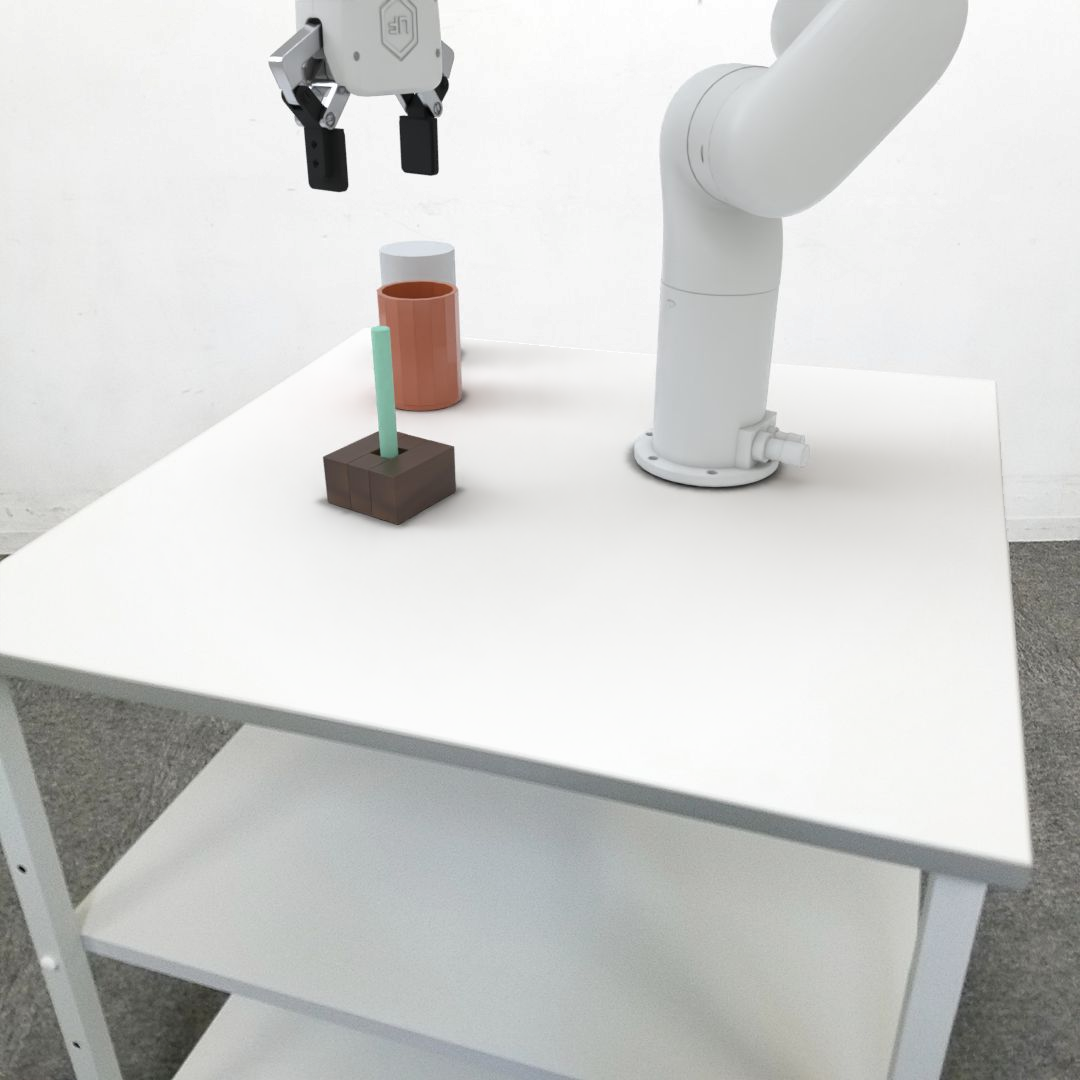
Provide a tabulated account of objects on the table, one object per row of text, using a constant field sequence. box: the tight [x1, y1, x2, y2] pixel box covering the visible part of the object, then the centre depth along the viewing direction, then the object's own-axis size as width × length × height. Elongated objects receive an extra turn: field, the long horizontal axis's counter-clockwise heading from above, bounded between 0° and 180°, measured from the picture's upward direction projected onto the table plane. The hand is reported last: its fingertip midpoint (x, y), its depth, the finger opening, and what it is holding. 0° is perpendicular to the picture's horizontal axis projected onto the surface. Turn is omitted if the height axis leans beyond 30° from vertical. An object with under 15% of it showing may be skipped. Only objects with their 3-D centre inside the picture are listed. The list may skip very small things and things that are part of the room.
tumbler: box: [376, 280, 463, 412], centre depth 103 cm, size 8×8×11 cm
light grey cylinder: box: [378, 240, 457, 287], centre depth 115 cm, size 8×8×12 cm
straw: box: [370, 325, 398, 459], centre depth 81 cm, size 1×1×14 cm
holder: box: [322, 430, 457, 525], centre depth 83 cm, size 7×7×4 cm
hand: (376, 181), depth 74 cm, fingers open, 9 cm apart
